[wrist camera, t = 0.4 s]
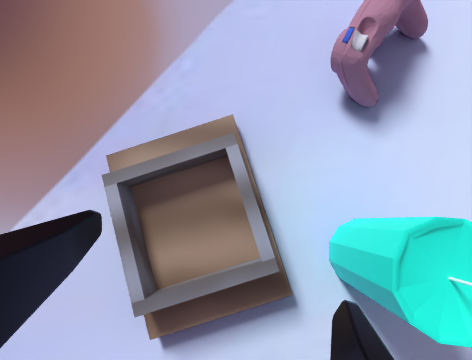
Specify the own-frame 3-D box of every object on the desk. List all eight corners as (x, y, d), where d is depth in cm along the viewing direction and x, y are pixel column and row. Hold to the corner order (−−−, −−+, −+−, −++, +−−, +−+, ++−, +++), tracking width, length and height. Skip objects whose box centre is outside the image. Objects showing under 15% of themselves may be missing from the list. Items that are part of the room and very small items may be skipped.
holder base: (290, 290, 23) (297, 304, 19) (156, 332, 23) (136, 355, 19) (233, 120, 25) (230, 102, 21) (114, 159, 25) (89, 148, 21)
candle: (415, 257, 22) (599, 297, 10) (364, 305, 22) (494, 404, 10) (363, 204, 23) (478, 186, 11) (313, 249, 23) (378, 280, 11)
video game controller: (380, 27, 27) (383, -47, 22) (429, 32, 25) (446, -50, 19) (327, 101, 27) (316, 44, 21) (372, 114, 24) (373, 54, 18)
